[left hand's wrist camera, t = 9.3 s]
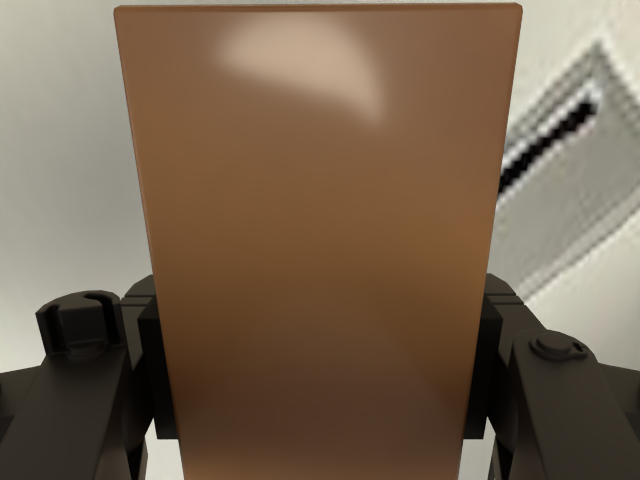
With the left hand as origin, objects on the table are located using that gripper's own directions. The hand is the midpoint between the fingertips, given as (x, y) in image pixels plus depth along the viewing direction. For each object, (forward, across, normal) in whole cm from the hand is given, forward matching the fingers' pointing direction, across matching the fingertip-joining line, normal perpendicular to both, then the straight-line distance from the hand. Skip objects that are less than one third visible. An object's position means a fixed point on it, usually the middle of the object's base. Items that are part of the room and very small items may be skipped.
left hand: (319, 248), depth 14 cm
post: (0, 0, -26) cm, 26 cm away
